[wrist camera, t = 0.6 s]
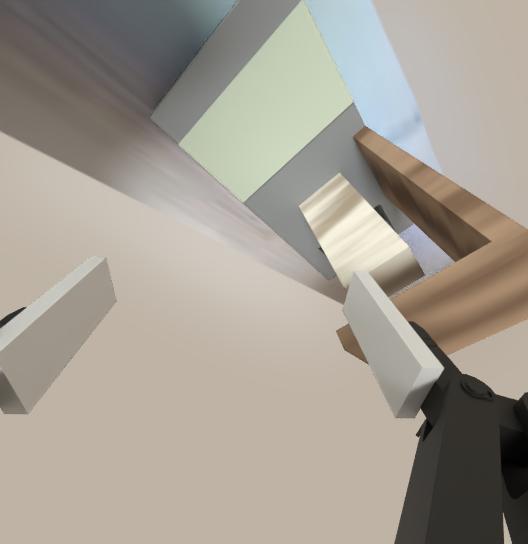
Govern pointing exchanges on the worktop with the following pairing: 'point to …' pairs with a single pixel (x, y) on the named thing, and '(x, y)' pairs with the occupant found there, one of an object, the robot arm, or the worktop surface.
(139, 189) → the worktop surface
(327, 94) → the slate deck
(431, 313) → the walnut tunnel
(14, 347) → the robot arm
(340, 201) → the cream block
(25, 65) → the worktop surface
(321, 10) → the worktop surface
